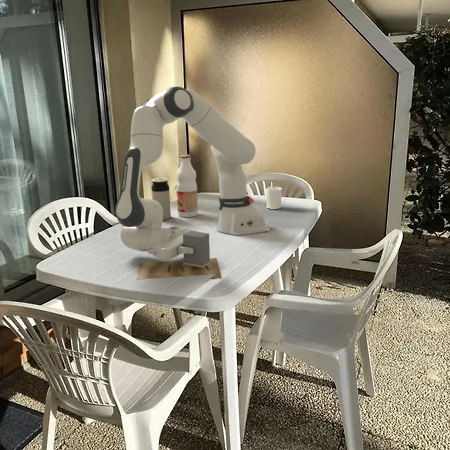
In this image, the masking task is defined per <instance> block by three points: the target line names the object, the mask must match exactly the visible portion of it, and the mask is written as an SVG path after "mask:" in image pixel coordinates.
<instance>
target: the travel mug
mask: <svg viewBox="0 0 450 450" xmlns="http://www.w3.org/2000/svg"><path fill="white" fill-rule="evenodd" d="M151 182H152V185H151V198H152V199H151V200H156V201H158V202H159V203H160V204H161V205H162V207H163V210H164V216H163V221H164V220H169V219H171V218H172V215H171V212H172V211H171V197H170V195H171V194H170V185H169V184H168V183H169V178H167V177H156V178H152V179H151Z"/></svg>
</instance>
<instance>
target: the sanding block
mask: <svg viewBox="0 0 450 450" xmlns="http://www.w3.org/2000/svg"><path fill="white" fill-rule="evenodd" d="M196 231H197V230H195V231H189V232H187V233H185V234H183V246H184V247H194V248H195V252H194V253H193V254H190V253H186V254H183V260H184V264H187V265H192V266H198V267H204V266H206V265H207V264H209V263H210V258H211V255H210V254H211V253H210V252H211V251H210V248H211V247H210V233H208V232H202V231H199V232H196Z"/></svg>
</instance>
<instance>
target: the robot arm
mask: <svg viewBox="0 0 450 450" xmlns="http://www.w3.org/2000/svg"><path fill="white" fill-rule="evenodd" d="M180 118H182V119H183V120H184V121H185V122H186V123H187V125H189V127H190V128H192V129H193V130H194V131H195V133H196V134H197V135H199V136H200V138H201V139H202V140H203V141H205V142H206V143H208V144H209V145H210V150H211V153H212V154H213V157H214V160H215V165H216V170H217V173H218V174H217V175H218V180H219V181H218V182H219V183H218V185H219V195H218V201H217V203H218V210H219V213H218V221H217V224H216V230H217V231H218V232H220V233H224V234H230V235H233V236H241V235H242V236H243V235H244V236H245V235H251V234H258V233H257V232H260V233H264V232H263V231H268V230H270V231H271V225H270V224H269V223H268V221H265V220H266V219H265V216H264V213H263V211H261V210H259V209H258V208H257V207H255V205H253V204H254V200H255V199H254V198H252V197H251V196H249V195H248V194H247V175H246V174H245V171H244V170H243V166H242V165H247V164H249V163H251V162H252V161H253V160H254V159H255V156H256V147H255V144H254V142H253V141H251V140H250V139H249V138H247V137H246V136H245V135H244V134H242V132H240V131H239V130H238V129H237V128H235V126H233V125H232V124H231V123H229V122H228V121H227V120H226V119H225V118H223V117H222V115H220V114H219V112H218V111H217V110H216V109H215V108H214V107H213V106H212V105H211V104H210V103H209V102H208V101H207V100H206V99H205V98H204V97H203V96H202V95H200V94H199V93H198V92H196V91H195V90H194V89H192V88H184V87H181V86H171V87H168V88H167V89H165V90H163V91H160V92H158V93H157V94H156V95H154V96H153V97H151V98H149V99H147V101H146V102H145V103H144V104H143V105H142V106H139V107H137V108H136V109H134V111H133V113H132V118H131V126H130V144H129V149H128V150H127V151H126V152H125V154H124V159H123V164H122V171H121V179H120V189H119V194H118V199H117V202H116V205H115V209H114V210H115V211H114V212H115V217H116V220H117V221H118V222H119V224H120V225H122V226H123V227H122V228H121V230H120V239H121V243H122V244H123V245H124V246H125V247H126V248H129V249H131V250H134V251H137V252H142V253H144V252H147V253H148V254H150V255H152V256H153V257H154V258H157V259H161V260H163V261H172V259H174V258H176V257H178V256H179V255H184V254H186V253H190V254H193V253H194V252H195V248H194V247H184V246H183V234H185V233H187V232H189V231H196V232H200V231H198V230H195V229H194V230H193V229H189V228H188V229H187V228H182V227H181V226H177V225H176V226H170V227H162V226H163V225H162V224H163V221H164V220H163V216H164V210H163V207H162V205H161V204H160V203H159V202H158V201H156V200H152V199H150V198H143V197H141V196H140V186H141V178H142V177H141V176H142V171H143V169H144V168H145V166H148V165H151V164H153V163H155V162H156V161H158V160H159V159H160V158H161V156H162V155H163V149H164V135H163V134H164V132H163V128H164V126H165V125H169V124H172V123H174V122H176V121H177V120H179V119H180ZM268 232H269V231H268Z"/></svg>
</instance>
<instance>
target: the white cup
mask: <svg viewBox="0 0 450 450" xmlns="http://www.w3.org/2000/svg"><path fill="white" fill-rule="evenodd" d="M282 197H283V188H282V187H279V186H268V187H266V188H265V203H266V209H267V208H270V209H276V208H280V207H281V208H282Z"/></svg>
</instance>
